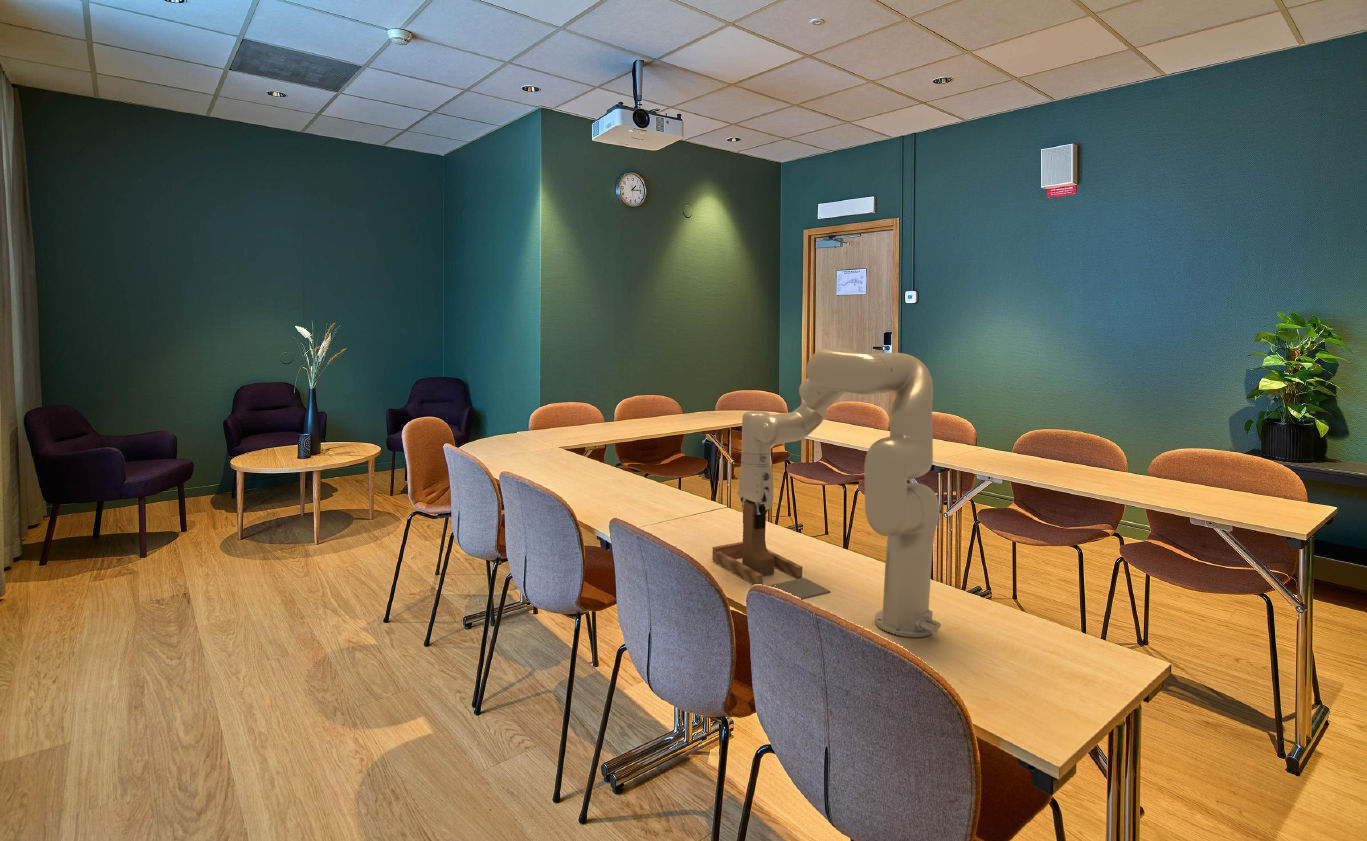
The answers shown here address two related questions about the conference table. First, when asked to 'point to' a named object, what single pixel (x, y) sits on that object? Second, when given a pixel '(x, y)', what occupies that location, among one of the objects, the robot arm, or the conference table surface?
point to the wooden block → (755, 543)
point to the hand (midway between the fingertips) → (754, 525)
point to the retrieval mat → (801, 588)
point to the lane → (727, 557)
